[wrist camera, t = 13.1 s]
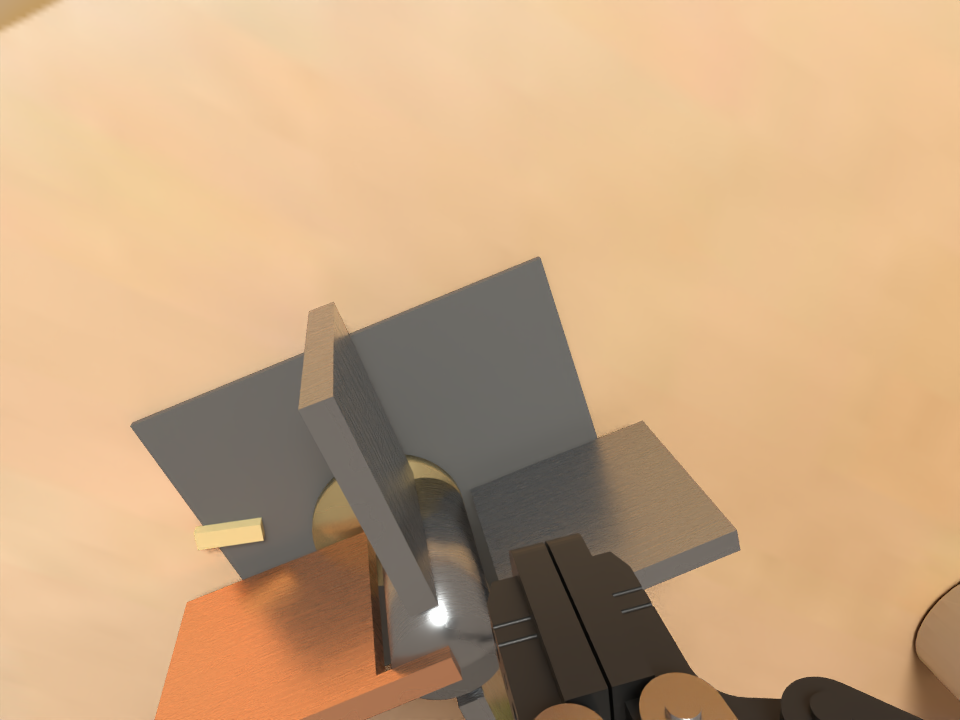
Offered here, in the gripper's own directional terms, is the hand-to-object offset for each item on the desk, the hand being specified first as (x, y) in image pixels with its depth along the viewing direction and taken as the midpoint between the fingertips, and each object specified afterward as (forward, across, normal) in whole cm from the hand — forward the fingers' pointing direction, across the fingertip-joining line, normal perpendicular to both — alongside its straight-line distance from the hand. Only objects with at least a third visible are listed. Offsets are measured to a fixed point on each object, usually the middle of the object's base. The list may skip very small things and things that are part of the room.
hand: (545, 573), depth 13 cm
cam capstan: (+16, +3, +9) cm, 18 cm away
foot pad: (+16, +3, +9) cm, 18 cm away
